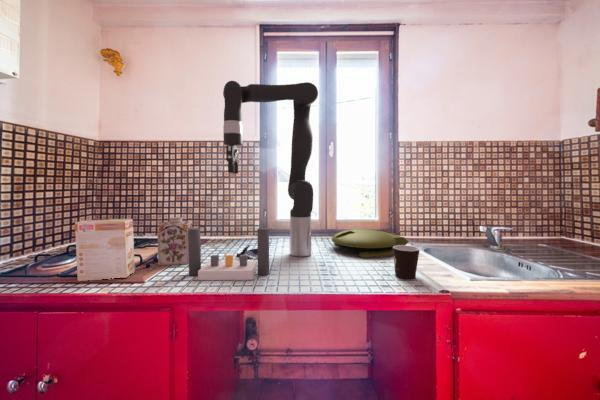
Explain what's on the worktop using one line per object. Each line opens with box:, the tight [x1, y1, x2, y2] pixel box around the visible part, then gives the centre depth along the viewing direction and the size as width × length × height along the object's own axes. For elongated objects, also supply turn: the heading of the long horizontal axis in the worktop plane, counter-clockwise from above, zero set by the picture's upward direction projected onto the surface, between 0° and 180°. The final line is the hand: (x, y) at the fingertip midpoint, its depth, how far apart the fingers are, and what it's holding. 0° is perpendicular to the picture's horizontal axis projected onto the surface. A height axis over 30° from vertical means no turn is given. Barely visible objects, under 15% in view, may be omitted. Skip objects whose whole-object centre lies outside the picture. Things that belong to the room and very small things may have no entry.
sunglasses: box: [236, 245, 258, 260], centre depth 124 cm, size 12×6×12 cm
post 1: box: [188, 227, 202, 277], centre depth 99 cm, size 4×4×16 cm
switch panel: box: [197, 254, 258, 281], centre depth 100 cm, size 18×12×7 cm, turn 92°
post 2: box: [256, 227, 270, 277], centre depth 100 cm, size 4×4×16 cm
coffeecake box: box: [74, 218, 136, 282], centre depth 96 cm, size 15×7×20 cm, turn 100°
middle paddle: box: [224, 254, 234, 266], centre depth 100 cm, size 2×2×4 cm
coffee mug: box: [392, 244, 420, 281], centre depth 98 cm, size 12×9×10 cm
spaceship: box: [331, 228, 410, 259], centre depth 138 cm, size 35×31×10 cm
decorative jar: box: [156, 216, 194, 266], centre depth 116 cm, size 12×12×18 cm
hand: (233, 173), depth 117 cm, fingers open, 8 cm apart
